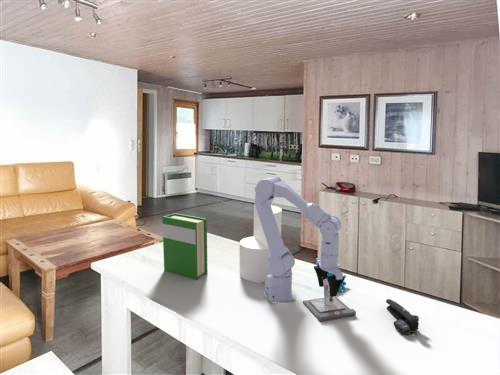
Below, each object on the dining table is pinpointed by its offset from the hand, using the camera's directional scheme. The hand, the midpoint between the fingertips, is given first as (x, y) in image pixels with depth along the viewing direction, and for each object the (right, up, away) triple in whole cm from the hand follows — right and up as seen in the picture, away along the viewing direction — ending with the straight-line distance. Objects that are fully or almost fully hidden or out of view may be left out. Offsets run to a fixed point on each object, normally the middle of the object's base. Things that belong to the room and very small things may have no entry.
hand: (327, 291), depth 122 cm
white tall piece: (-22, -1, +29) cm, 37 cm away
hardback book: (-54, -1, +30) cm, 62 cm away
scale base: (0, -6, 0) cm, 6 cm away
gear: (+7, -4, +16) cm, 18 cm away
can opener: (+22, -8, -7) cm, 24 cm away
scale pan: (0, -5, +1) cm, 5 cm away
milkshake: (0, -5, +1) cm, 5 cm away
